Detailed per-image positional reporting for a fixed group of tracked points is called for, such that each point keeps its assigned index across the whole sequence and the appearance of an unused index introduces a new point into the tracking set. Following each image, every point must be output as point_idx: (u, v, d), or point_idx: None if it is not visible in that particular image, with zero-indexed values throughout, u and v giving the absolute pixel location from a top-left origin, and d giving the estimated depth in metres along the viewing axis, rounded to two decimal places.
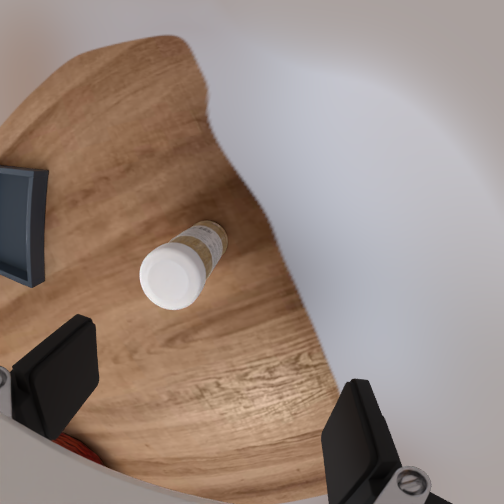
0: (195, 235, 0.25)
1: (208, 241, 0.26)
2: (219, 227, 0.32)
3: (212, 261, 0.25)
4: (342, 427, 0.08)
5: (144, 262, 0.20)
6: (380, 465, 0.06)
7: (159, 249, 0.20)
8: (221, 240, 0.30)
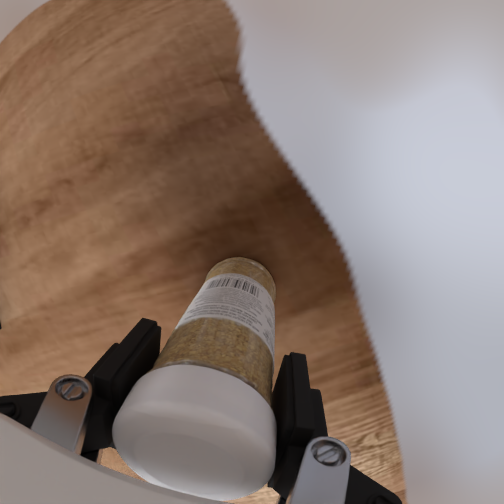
0: (234, 314, 0.11)
1: (261, 321, 0.12)
2: (263, 270, 0.18)
3: (273, 368, 0.11)
4: (277, 398, 0.10)
5: (119, 424, 0.06)
6: (296, 430, 0.07)
7: (155, 404, 0.06)
8: (272, 299, 0.16)
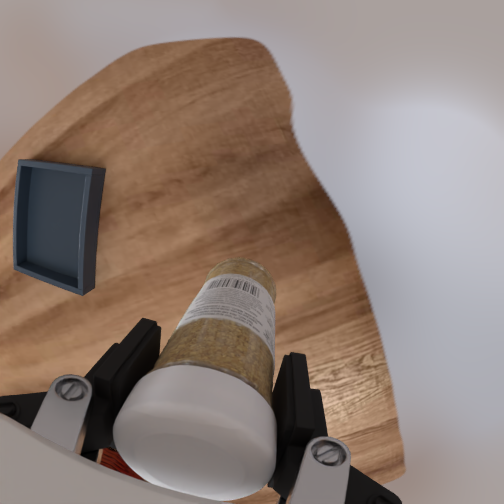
0: (235, 314, 0.11)
1: (261, 321, 0.12)
2: (263, 270, 0.18)
3: (273, 368, 0.11)
4: (277, 398, 0.10)
5: (120, 425, 0.06)
6: (296, 430, 0.07)
7: (156, 405, 0.06)
8: (272, 300, 0.16)
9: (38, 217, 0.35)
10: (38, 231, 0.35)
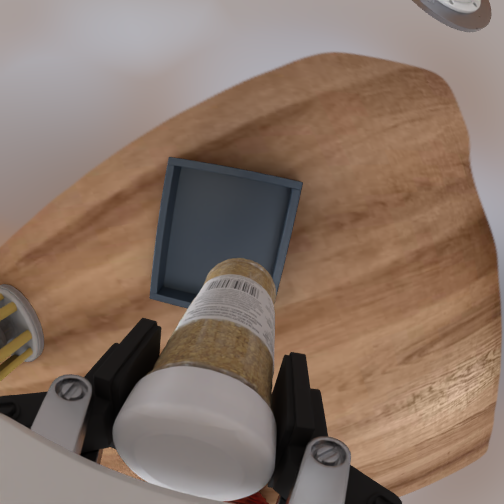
0: (234, 315, 0.11)
1: (261, 322, 0.12)
2: (262, 271, 0.18)
3: (273, 369, 0.11)
4: (277, 398, 0.10)
5: (119, 426, 0.06)
6: (296, 430, 0.07)
7: (156, 406, 0.06)
8: (271, 300, 0.16)
9: (191, 232, 0.34)
10: (189, 250, 0.34)
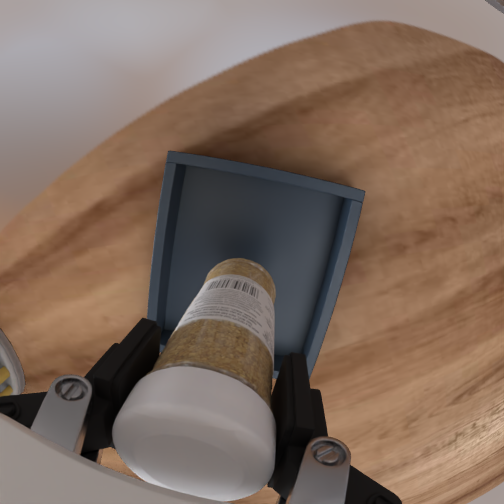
0: (234, 315, 0.11)
1: (260, 323, 0.12)
2: (262, 271, 0.18)
3: (272, 369, 0.11)
4: (277, 398, 0.10)
5: (119, 426, 0.06)
6: (296, 430, 0.07)
7: (155, 406, 0.06)
8: (271, 300, 0.16)
9: (201, 258, 0.24)
10: (198, 283, 0.24)
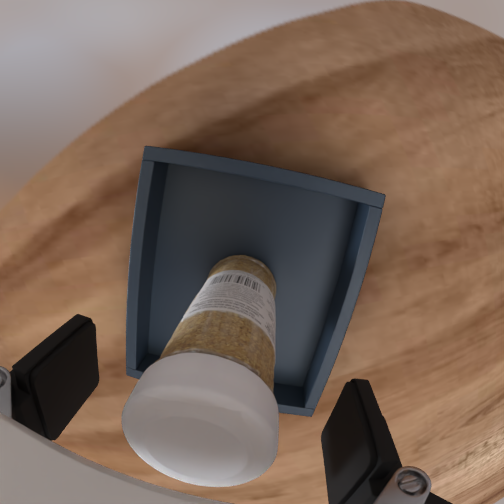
0: (237, 307, 0.12)
1: (262, 315, 0.12)
2: (263, 267, 0.19)
3: (274, 359, 0.12)
4: (342, 427, 0.08)
5: (129, 410, 0.07)
6: (380, 465, 0.06)
7: (165, 389, 0.07)
8: (272, 295, 0.17)
9: (187, 275, 0.20)
10: (184, 303, 0.21)
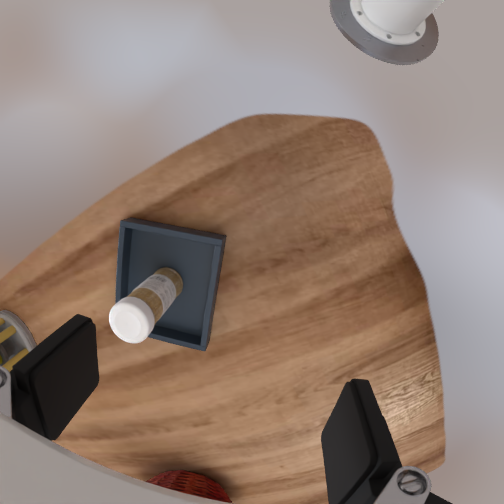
0: (150, 287, 0.33)
1: (160, 290, 0.33)
2: (175, 273, 0.40)
3: (163, 306, 0.33)
4: (342, 427, 0.08)
5: (111, 311, 0.28)
6: (380, 465, 0.06)
7: (120, 303, 0.28)
8: (175, 285, 0.38)
9: (143, 276, 0.41)
10: None
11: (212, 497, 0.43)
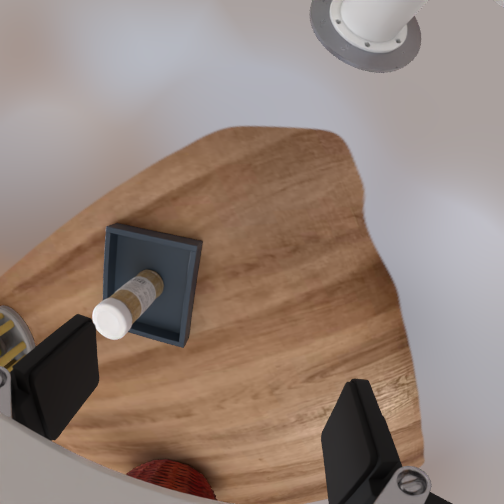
0: (130, 288, 0.36)
1: (139, 292, 0.36)
2: (156, 275, 0.42)
3: (141, 306, 0.35)
4: (342, 427, 0.08)
5: (94, 311, 0.31)
6: (380, 465, 0.06)
7: (101, 304, 0.30)
8: (155, 286, 0.41)
9: (128, 277, 0.44)
10: None
11: (193, 486, 0.47)
